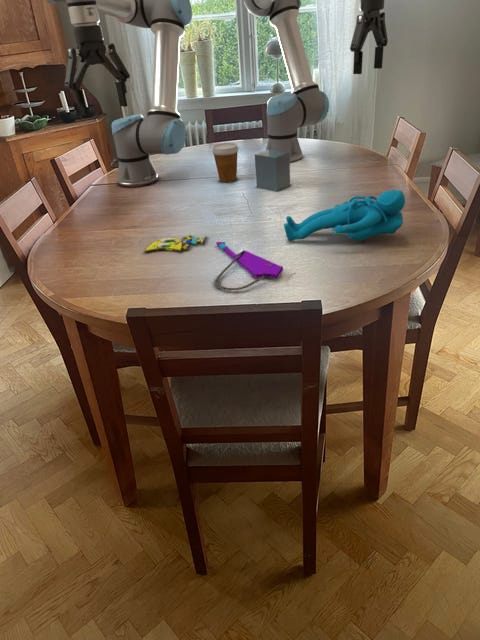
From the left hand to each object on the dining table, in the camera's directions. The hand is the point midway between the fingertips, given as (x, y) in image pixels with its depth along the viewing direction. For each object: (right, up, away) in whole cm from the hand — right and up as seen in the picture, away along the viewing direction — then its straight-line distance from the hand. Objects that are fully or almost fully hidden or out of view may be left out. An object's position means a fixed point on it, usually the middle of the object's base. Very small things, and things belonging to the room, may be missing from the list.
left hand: (104, 110), depth 140 cm
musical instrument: (+38, -49, -24) cm, 67 cm away
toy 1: (+22, -41, -9) cm, 47 cm away
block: (+51, -15, +27) cm, 59 cm away
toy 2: (+66, -40, -14) cm, 78 cm away
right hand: (+83, +23, +23) cm, 89 cm away
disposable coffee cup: (+35, -9, +37) cm, 52 cm away
